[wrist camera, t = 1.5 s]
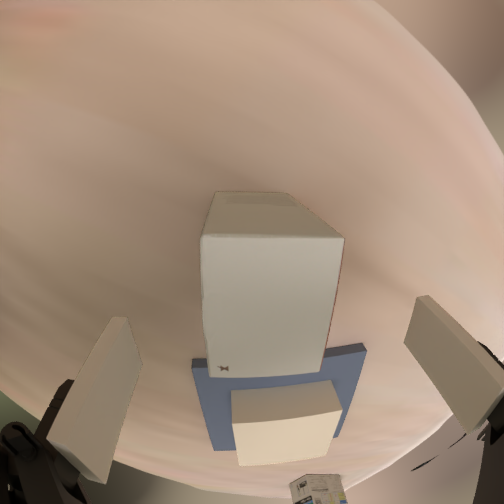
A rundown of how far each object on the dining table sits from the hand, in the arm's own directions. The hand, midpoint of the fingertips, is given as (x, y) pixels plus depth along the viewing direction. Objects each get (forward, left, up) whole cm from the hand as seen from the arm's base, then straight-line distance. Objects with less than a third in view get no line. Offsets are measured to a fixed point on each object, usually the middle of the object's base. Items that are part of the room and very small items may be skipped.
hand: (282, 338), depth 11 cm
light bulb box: (+13, -59, -15) cm, 62 cm away
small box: (0, 0, -15) cm, 15 cm away
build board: (+3, -24, -14) cm, 28 cm away
